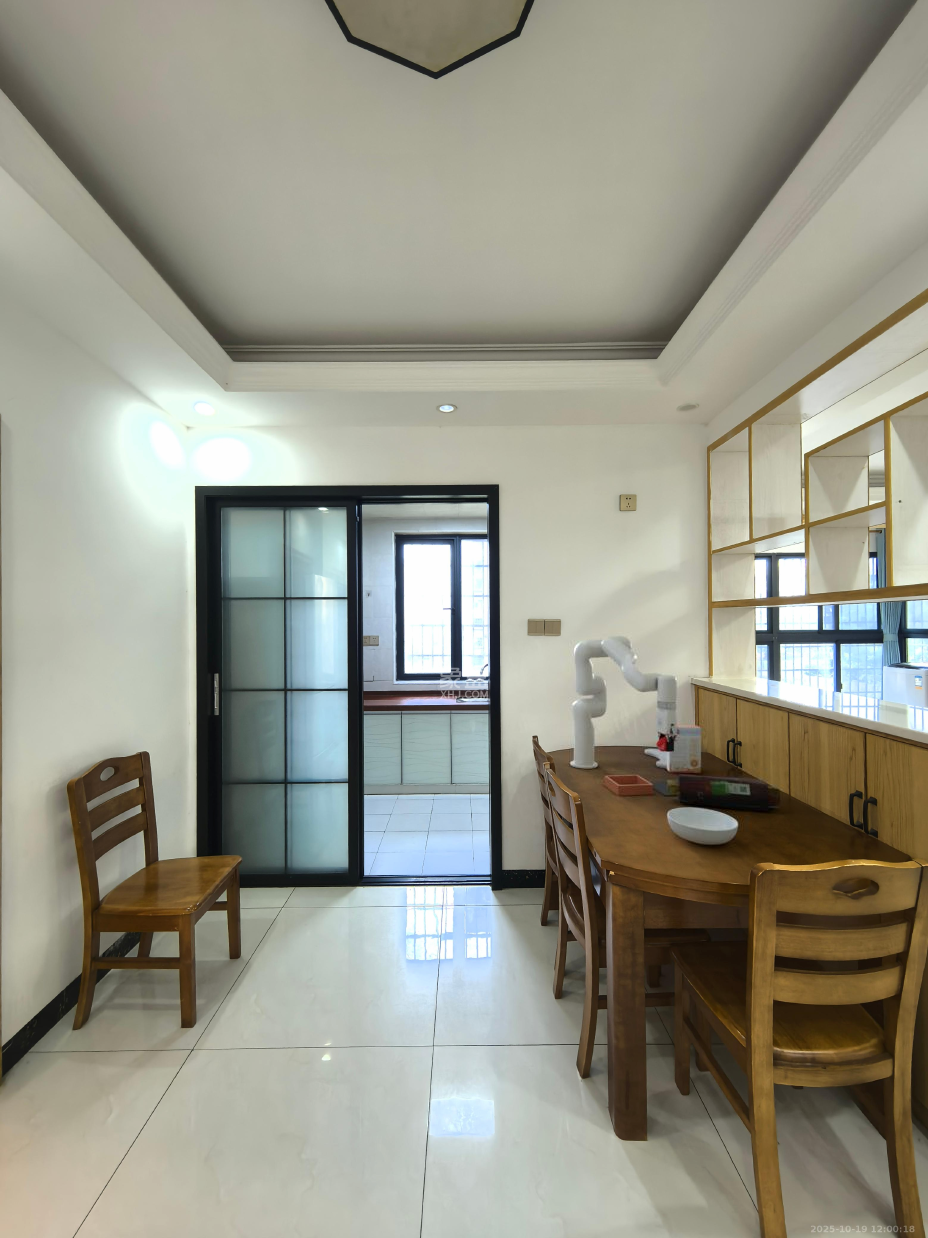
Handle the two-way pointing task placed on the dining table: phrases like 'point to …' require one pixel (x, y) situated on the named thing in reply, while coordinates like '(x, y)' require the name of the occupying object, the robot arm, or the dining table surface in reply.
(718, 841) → the serving bowl
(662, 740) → the cap
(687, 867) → the dining table surface
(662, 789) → the mat
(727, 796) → the packaged item
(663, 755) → the holder
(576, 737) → the robot arm
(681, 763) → the cracker box
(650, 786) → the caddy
